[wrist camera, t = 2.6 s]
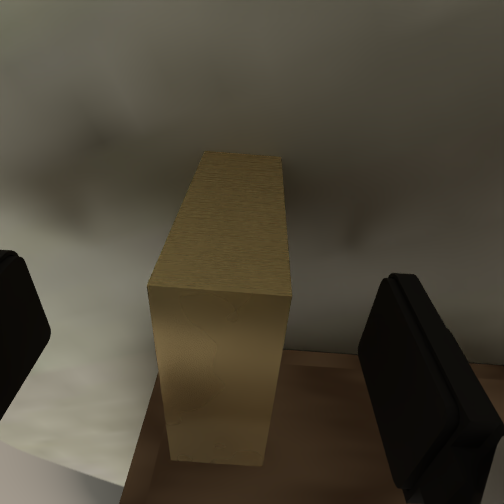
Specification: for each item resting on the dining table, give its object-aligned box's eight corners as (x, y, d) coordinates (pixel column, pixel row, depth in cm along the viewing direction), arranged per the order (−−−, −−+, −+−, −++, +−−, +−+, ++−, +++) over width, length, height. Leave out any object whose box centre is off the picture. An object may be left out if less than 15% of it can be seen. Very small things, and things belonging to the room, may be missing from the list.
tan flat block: (281, 156, 11) (291, 296, 6) (264, 298, 15) (262, 467, 9) (204, 150, 11) (146, 285, 6) (206, 293, 15) (170, 459, 9)
